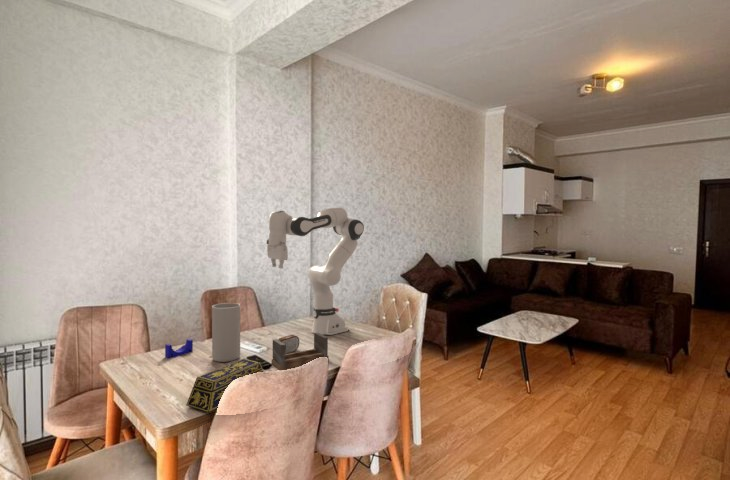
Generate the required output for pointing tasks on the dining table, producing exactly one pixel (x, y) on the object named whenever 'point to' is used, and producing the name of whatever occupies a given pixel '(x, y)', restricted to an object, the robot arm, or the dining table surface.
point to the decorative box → (219, 383)
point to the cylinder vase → (225, 332)
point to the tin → (290, 343)
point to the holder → (299, 353)
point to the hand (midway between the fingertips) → (277, 267)
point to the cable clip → (183, 350)
